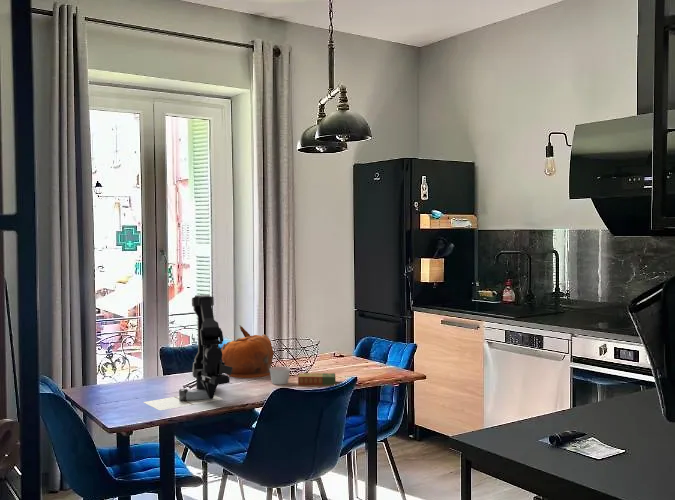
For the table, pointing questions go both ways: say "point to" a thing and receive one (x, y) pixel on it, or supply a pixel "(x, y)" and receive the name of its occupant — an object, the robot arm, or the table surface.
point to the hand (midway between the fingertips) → (211, 398)
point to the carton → (316, 379)
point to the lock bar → (192, 395)
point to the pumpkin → (248, 356)
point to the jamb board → (176, 402)
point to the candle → (279, 375)
